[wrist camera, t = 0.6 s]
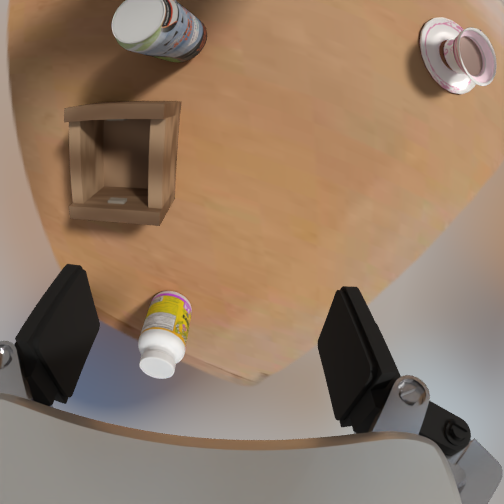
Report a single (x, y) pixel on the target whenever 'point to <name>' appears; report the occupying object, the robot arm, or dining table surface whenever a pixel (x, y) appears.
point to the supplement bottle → (164, 334)
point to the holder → (123, 160)
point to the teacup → (457, 55)
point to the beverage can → (159, 29)
